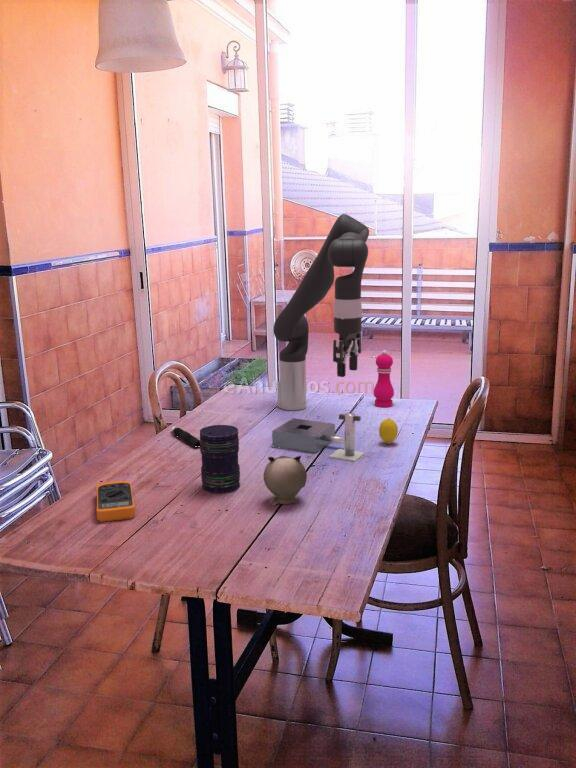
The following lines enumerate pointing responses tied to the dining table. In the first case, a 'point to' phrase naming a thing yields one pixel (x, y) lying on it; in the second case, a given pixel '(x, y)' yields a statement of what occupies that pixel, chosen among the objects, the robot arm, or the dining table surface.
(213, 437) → the camera lens
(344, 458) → the mat
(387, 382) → the pepper mill
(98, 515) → the multimeter
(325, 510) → the dining table surface
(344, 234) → the robot arm
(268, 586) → the dining table surface
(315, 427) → the block
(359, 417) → the chuck key
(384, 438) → the lemon
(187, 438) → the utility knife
